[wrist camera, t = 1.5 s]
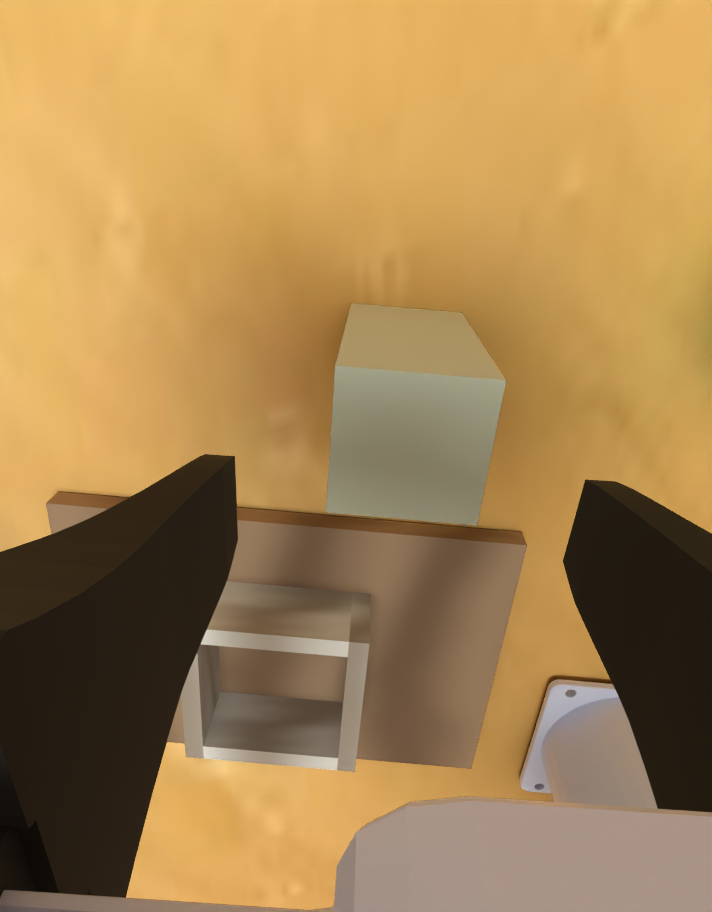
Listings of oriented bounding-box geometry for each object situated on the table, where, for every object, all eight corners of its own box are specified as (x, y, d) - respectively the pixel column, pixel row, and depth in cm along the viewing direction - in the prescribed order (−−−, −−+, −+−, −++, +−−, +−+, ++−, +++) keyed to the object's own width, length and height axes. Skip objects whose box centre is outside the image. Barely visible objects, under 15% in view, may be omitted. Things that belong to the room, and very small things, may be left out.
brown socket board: (521, 532, 24) (546, 592, 21) (468, 751, 30) (480, 827, 27) (58, 491, 24) (1, 544, 21) (97, 718, 30) (59, 790, 27)
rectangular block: (461, 312, 20) (506, 380, 13) (445, 415, 22) (477, 525, 15) (351, 302, 20) (335, 365, 13) (344, 406, 22) (325, 512, 15)
